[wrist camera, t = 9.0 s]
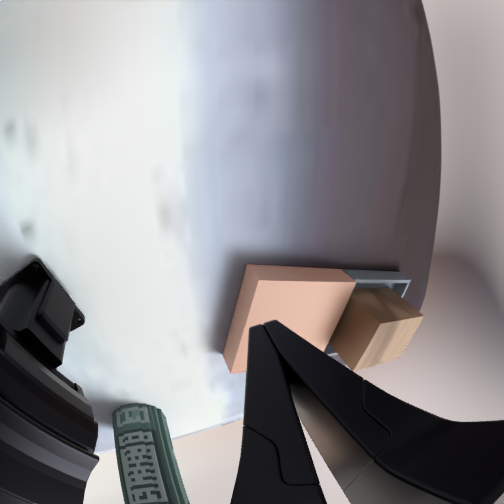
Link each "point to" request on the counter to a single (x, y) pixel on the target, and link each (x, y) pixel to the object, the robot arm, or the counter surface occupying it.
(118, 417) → the can
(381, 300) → the tan block
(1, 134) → the counter surface
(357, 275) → the tray
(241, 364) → the thick peach slab
